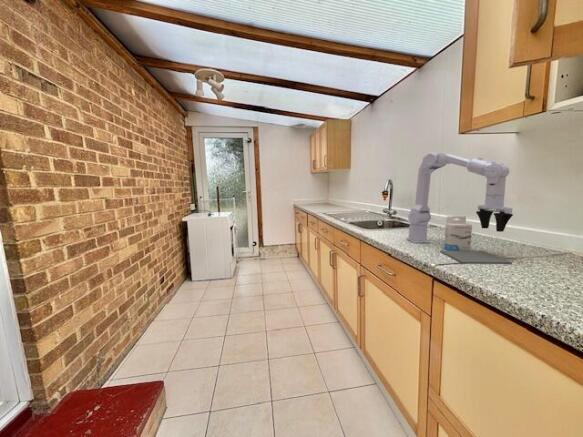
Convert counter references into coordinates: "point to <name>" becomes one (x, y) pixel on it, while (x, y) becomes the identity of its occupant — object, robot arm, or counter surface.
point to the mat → (475, 257)
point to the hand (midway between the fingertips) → (492, 229)
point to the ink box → (457, 234)
